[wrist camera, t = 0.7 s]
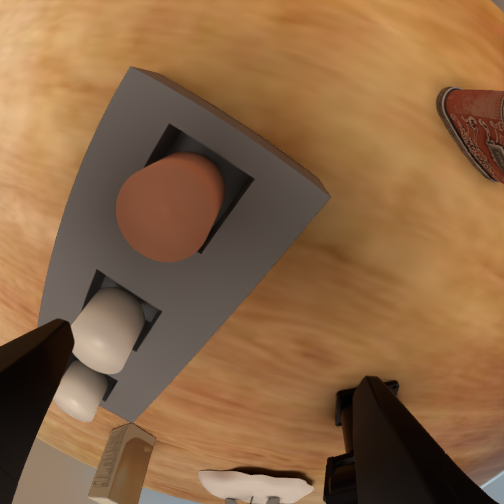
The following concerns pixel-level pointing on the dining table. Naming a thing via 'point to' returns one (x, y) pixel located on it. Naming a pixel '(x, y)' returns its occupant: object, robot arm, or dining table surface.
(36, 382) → the robot arm
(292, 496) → the figurine
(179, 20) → the dining table surface
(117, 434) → the skincare box
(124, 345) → the button
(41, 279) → the dining table surface
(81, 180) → the button panel
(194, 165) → the terracotta button
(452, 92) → the lighter
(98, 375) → the button
